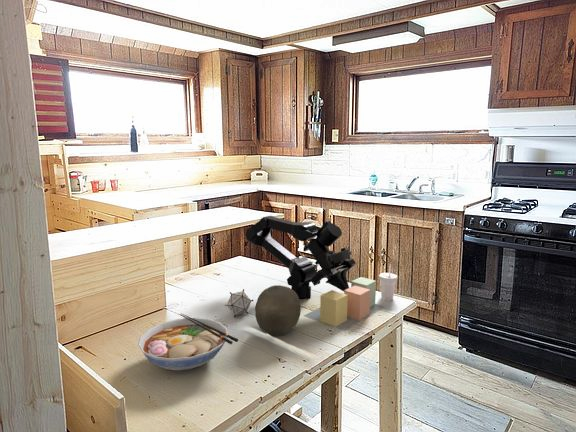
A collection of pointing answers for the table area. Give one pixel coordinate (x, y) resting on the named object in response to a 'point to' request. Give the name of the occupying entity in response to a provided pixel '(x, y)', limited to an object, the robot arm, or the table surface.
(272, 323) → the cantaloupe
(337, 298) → the mustard block
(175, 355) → the ramen bowl
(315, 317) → the grey mat
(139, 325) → the table surface
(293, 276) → the robot arm
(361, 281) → the sage block
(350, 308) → the terracotta block
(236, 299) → the grey spiked polyhedron
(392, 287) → the smoothie
